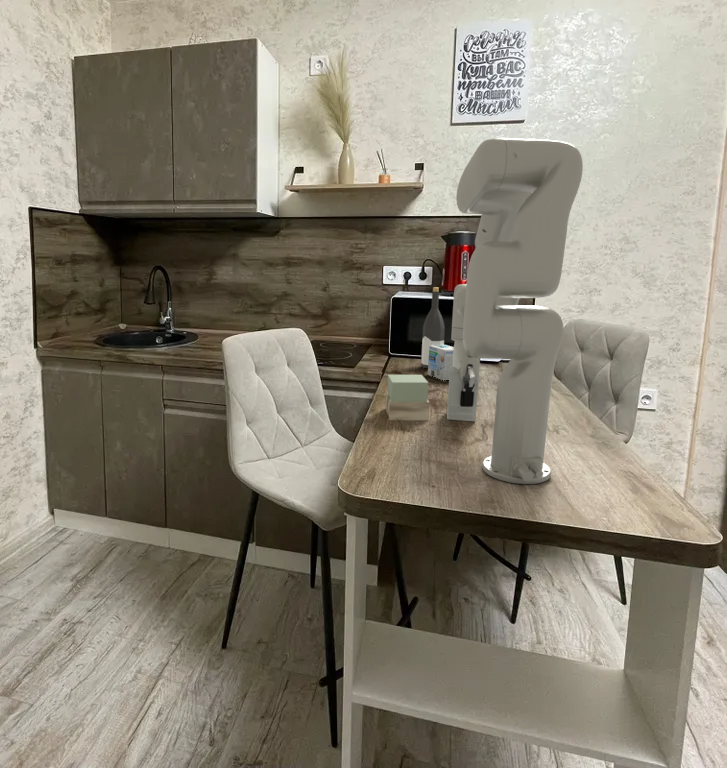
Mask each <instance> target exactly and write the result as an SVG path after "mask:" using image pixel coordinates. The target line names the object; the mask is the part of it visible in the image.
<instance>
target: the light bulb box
mask: <svg viewBox="0 0 727 768" xmlns="http://www.w3.org/2000/svg"><path fill="white" fill-rule="evenodd" d="M453 351H454V346H452V345H451V346H450V345H448V344H444V345H430V346H429V362H428V369H427V375H428V376H430V377H432V376H433V377H432V378H434V377H436V378H435V379H437V378H438V380H439V379H441V380H440V381H442V380H443V381H442V382H445V381H444V380H449V376H450V367H452V364H453Z"/></svg>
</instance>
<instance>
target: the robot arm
mask: <svg viewBox="0 0 727 768" xmlns="http://www.w3.org/2000/svg"><path fill="white" fill-rule="evenodd" d="M583 163H584V162H583V157H582V154H581V152H580V150H579V149H578V148H577V146H575V145H573V144H571V143H568V142H565V141H560V140H552V139H536V138H527V139H526V138H510V137H506V138H505V137H494V138H493V137H492V138H488V139H485V140H484V141H482V142H481V143H480V144H479V145H478V147H477V148H476V150H475V151H474V153H473V155H472V156H471V158H470V159H469V162H467V165H466V166H465V168H464V169H463V172H462V174H461V177H460V179H459V182H458V185H457V189H456V196H455V197H456V199H455V200H456V205H457V208H458V211H460V212H461V213H462V214H465V215H466V214H467V215H480V216H481V217H480V221H479V222H478V223H479V224H478V228H477V233H476V235H475V238H474V239H475V240H474V245H475V249H474V251H473V253H472V254H471V256H470V259H469V264H468V268H467V276H466V283H462V284H457V285H456V286H455V287H454V292H453V306H452V319H451V321H452V322H451V341H454V344H453V347H454V351H453V364H452V367H453V368H455V369H456V370H457V371H458V372H459V380H460V381H462V391H461V396H460V406H461V407H472V406H473V400H474V386H475V384H474V382H475V380H476V381H478V380H480V368H481V367H480V366H481V365H480V363H481V359H487V360H488V359H489V360H490V359H491V360H492V359H493V360H495V359H497V360H499V359H502V360H509V362H507V364H506V365H505V367H504V368H503V370H502V371H501V373H500V375H499V378H498V380H497V387H496V397H495V398H496V399H495V410H494V422H493V434H492V446H491V455H490V456H488V457H485V458H484V459H483V461H482V470H483V472H485V474H487V475H488V476H490V477H492V478H494V479H496V480H499V481H503V482H507V483H512V484H518V485H519V484H520V485H535V484H541V483H544V482H547V481H548V480H549V479H550V478H551V473H552V470H551V467H550V466H549V465H548V464H546V463H545V462H544V459H545V458H544V456H545V448H546V438H547V430H548V423H549V422H548V421H549V420H548V419H549V411H550V402H551V393H552V385H553V377H554V373H555V372H554V371H555V367H556V361H557V358H558V354H559V351H560V348H561V345H562V342H563V338H564V321H563V319H562V317H561V316H560V314H559V313H558V312H557V311H556V310H554V309H552V308H550V307H547V306H541V305H525V304H524V305H522V304H521V305H520V304H519V303H520V302H519V301H520V299H536V298H537V299H538V298H539V299H540V298H547V297H550V296H552V295H553V294H554V293H556V291H557V290H558V288H559V284H560V282H561V277H562V271H563V264H564V256H565V248H566V240H567V235H568V234H567V233H568V224H569V219H570V218H569V217H570V213H571V209H572V206H573V203H574V201H575V200H576V197H577V195H578V191H579V189H580V185H581V182H582V177H583V167H584V166H583ZM466 370H467V371H466ZM466 372H467V374H468V379H464V376H465V374H466ZM465 382H467V383H466V385H465Z"/></svg>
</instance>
